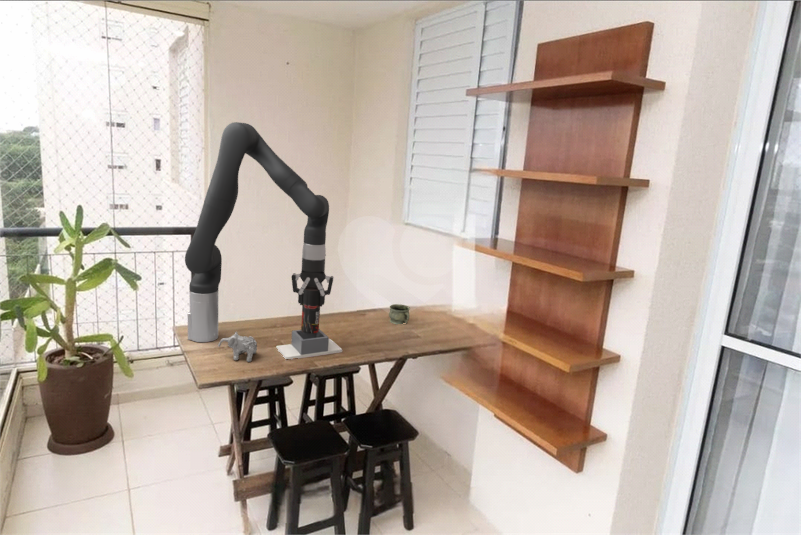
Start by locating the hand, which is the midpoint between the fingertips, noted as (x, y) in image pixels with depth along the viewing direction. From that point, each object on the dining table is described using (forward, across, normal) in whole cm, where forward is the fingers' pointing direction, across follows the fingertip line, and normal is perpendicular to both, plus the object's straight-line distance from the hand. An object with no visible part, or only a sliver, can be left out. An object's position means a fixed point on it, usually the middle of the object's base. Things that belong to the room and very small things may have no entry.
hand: (311, 305), depth 169 cm
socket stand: (+16, 0, 0) cm, 16 cm away
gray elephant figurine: (+17, -22, -9) cm, 29 cm away
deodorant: (+9, 0, 0) cm, 9 cm away
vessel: (+17, +33, +35) cm, 51 cm away
